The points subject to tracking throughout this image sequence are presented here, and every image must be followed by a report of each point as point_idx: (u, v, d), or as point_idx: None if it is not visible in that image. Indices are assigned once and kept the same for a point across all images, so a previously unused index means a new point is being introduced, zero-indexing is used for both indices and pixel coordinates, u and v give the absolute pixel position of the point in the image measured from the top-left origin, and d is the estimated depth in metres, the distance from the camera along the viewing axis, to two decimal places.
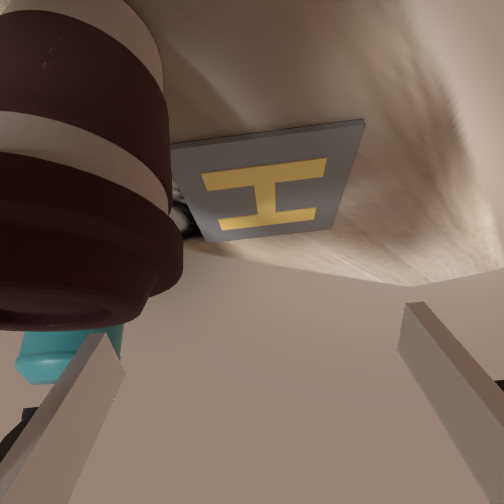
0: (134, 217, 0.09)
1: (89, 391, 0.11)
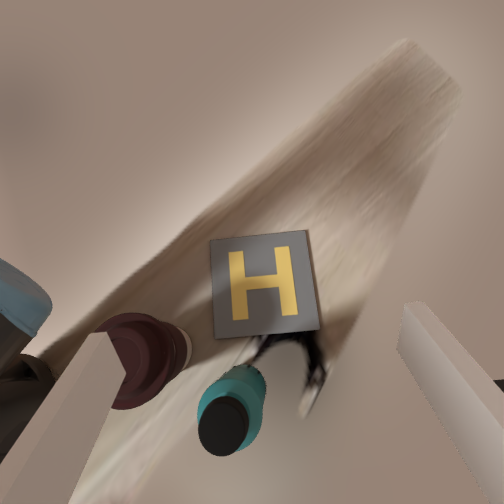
0: None
1: (90, 391, 0.11)
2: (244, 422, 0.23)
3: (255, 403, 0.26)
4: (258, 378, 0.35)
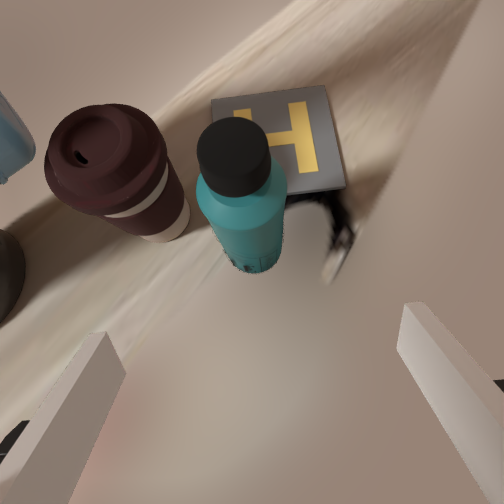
0: None
1: (90, 390, 0.11)
2: (266, 138, 0.15)
3: (277, 167, 0.19)
4: None
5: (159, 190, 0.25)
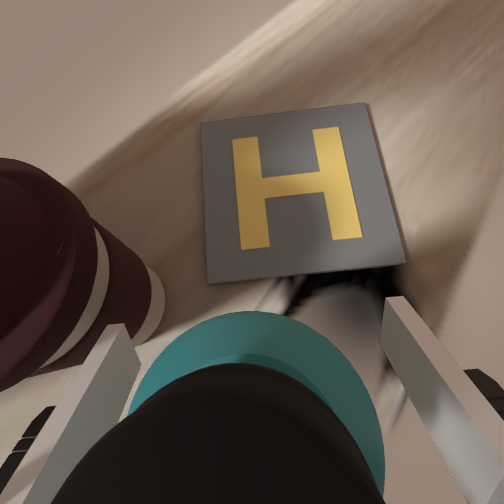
0: None
1: (110, 379, 0.11)
2: None
3: (358, 402, 0.06)
4: None
5: (85, 325, 0.13)
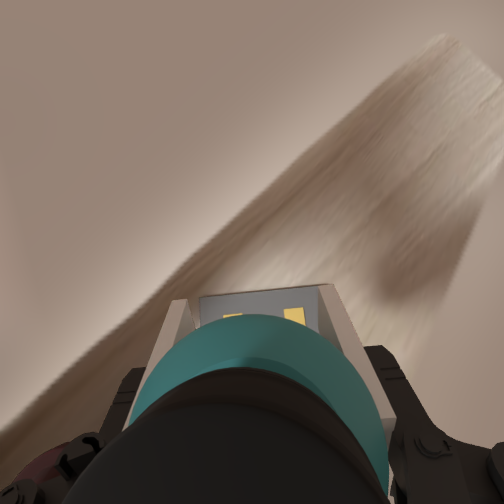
0: (45, 452, 0.21)
1: None
2: None
3: (362, 406, 0.06)
4: None
5: None
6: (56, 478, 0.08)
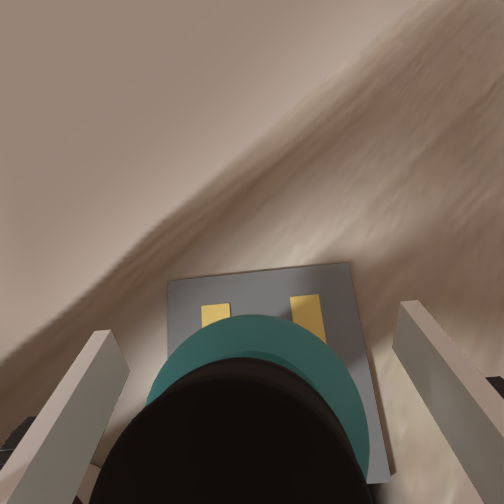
0: None
1: (95, 387, 0.11)
2: (369, 498, 0.04)
3: (346, 393, 0.07)
4: None
5: None
6: None
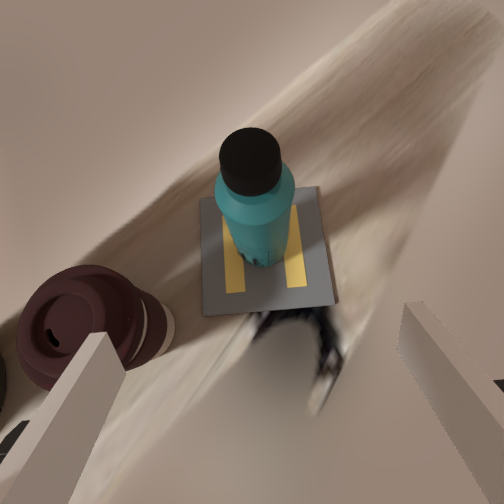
0: None
1: (90, 390, 0.11)
2: (278, 146, 0.18)
3: (286, 170, 0.21)
4: None
5: (135, 351, 0.24)
6: None
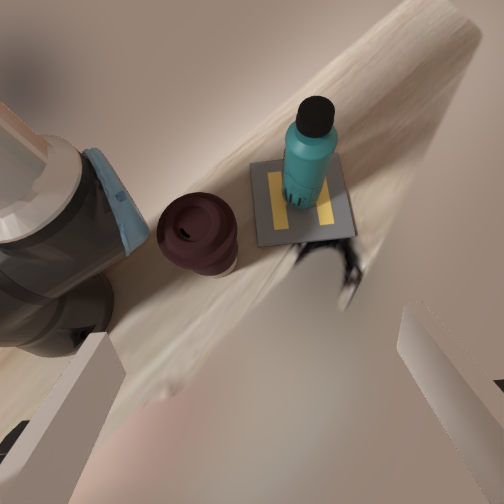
0: None
1: (90, 390, 0.11)
2: (333, 106, 0.30)
3: (332, 126, 0.34)
4: None
5: None
6: None
